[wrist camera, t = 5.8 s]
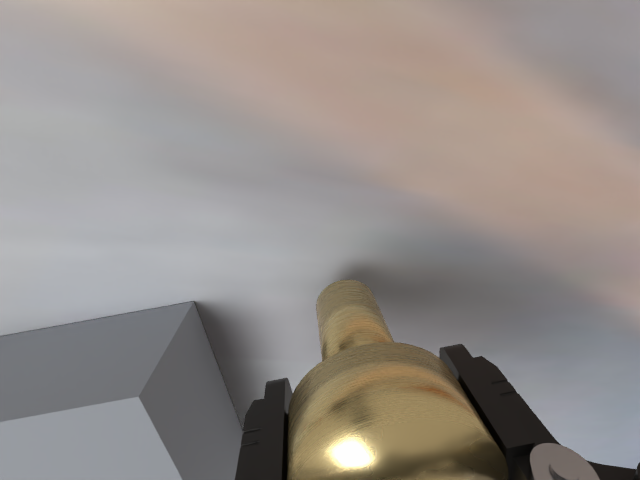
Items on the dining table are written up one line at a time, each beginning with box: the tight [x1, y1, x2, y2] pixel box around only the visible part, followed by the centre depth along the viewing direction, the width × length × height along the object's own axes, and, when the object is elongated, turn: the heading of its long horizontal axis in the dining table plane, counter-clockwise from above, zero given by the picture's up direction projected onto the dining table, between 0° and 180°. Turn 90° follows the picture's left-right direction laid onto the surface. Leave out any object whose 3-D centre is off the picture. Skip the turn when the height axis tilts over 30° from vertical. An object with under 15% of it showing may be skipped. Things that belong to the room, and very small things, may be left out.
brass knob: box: [287, 280, 508, 480], centre depth 11 cm, size 6×6×8 cm
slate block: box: [0, 301, 243, 480], centre depth 17 cm, size 12×12×6 cm
